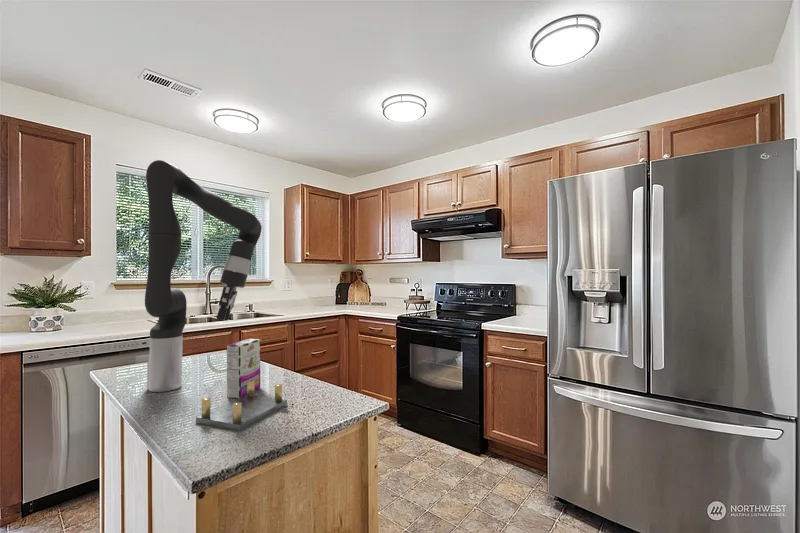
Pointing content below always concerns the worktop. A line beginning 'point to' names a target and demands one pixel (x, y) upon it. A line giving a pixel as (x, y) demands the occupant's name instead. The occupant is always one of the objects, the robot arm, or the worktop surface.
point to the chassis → (241, 410)
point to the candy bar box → (242, 367)
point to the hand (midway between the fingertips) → (222, 320)
